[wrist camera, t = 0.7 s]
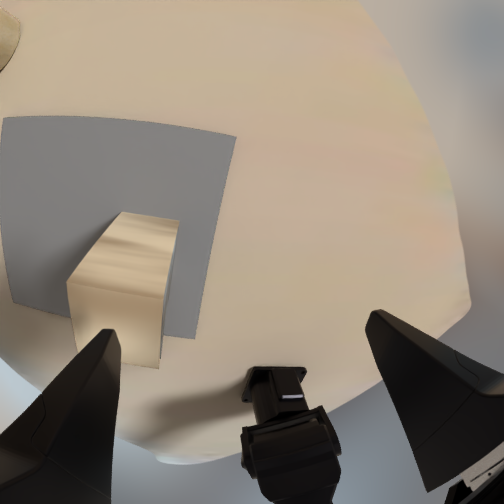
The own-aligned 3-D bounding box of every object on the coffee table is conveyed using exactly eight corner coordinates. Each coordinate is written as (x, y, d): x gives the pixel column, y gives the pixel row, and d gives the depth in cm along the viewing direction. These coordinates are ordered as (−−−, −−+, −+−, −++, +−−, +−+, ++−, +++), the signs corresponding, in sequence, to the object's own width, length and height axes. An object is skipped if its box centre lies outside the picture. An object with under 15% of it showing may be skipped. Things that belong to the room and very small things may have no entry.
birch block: (172, 273, 22) (159, 369, 13) (118, 265, 21) (78, 353, 12) (180, 220, 20) (164, 299, 11) (121, 211, 19) (66, 281, 10)
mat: (194, 335, 26) (194, 339, 25) (15, 299, 21) (13, 302, 20) (235, 136, 19) (236, 136, 18) (7, 117, 14) (3, 117, 13)
